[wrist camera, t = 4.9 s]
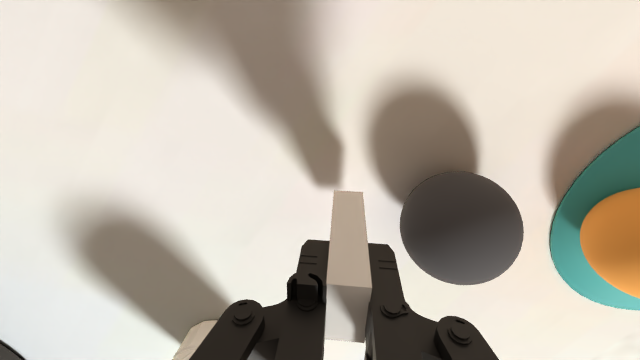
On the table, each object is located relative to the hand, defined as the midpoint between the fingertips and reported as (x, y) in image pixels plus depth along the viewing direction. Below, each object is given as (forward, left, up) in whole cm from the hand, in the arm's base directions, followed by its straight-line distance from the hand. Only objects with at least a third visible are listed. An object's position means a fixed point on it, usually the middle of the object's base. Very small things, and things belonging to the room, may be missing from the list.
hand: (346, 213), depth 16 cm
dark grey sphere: (+5, 0, +1) cm, 6 cm away
